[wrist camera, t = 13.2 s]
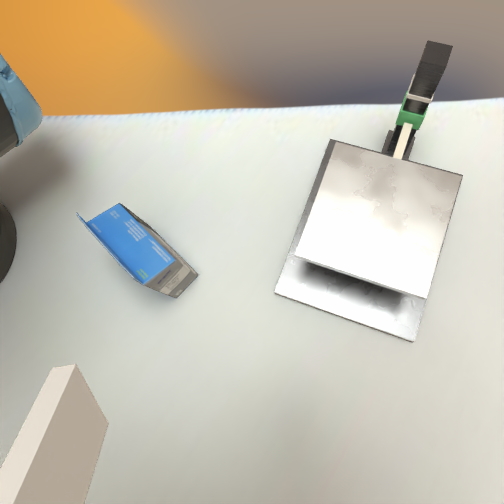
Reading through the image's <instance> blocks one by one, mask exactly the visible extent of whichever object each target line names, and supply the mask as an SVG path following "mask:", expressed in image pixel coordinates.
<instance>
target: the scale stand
mask: <svg viewBox="0 0 504 504" xmlns="http://www.w3.org/2000/svg"><path fill="white" fill-rule="evenodd" d="M452 47H453V46H450V45H446V44H441V43H437V42H432V41H427V44H426V46H425V49H424V52H423V55H422V57H421V60H420V62H419V65H418V68H417V70H416V73H415V74H414V75H413V78H412V81H411V84H410V87H409V90H408V91H407V92H406V95H405V98H404V101H403V103H402V106H401V109H400V112H399V115H398V118H397V121H396V126H395V129H394V131H391V130H389V132H388V135H387V138H386V141H385V144H384V147H383V150H382V153H380V152H376V151H373V150H369V149H366V148H362V147H358V146H355V145H351V144H347V143H344V142H340V141H336V140H333V139H330V141H329V144H328V147H327V149H326V152H325V155H324V158H323V160H322V163H321V166H320V168H319V171H318V174H317V177H316V179H315V182H314V185H313V188H312V190H311V193H310V196H309V198H308V201H307V204H306V207H305V209H304V212H303V215H302V218H301V220H300V223H299V226H298V229H297V231H296V234H295V237H294V239H293V242H292V245H291V248H290V250H289V253H288V256H287V259H286V261H285V264H284V267H283V269H282V272H281V275H280V278H279V280H278V283H277V286H276V289H275V291H274V293H275V294H278V295H281V296H283V297H286V298H289V299H292V300H295V301H297V302H300V303H303V304H306V305H309V306H311V307H314V308H317V309H320V310H323V311H326V312H328V313H331V314H334V315H337V316H340V317H342V318H345V319H348V320H351V321H354V322H356V323H359V324H362V325H365V326H368V327H371V328H373V329H376V330H379V331H382V332H385V333H387V334H390V335H393V336H396V337H399V338H402V339H404V340H407V341H410V342H414V341H415V338H416V334H417V331H418V328H419V324H420V321H421V317H422V314H423V310H424V307H425V304H426V300H427V298H426V299H424V300H421V299H418V298H415V297H412V296H409V295H406V294H403V293H400V292H397V291H394V290H391V289H388V288H385V287H382V286H379V285H376V284H373V283H370V282H367V281H364V280H361V279H358V278H355V277H352V276H349V275H346V274H343V273H340V272H337V271H334V270H331V269H328V268H325V267H322V266H319V265H316V264H313V263H310V262H307V261H304V260H301V259H298V258H296V257H295V254H296V251H297V248H298V245H299V243H300V240H301V237H302V234H303V232H304V229H305V226H306V223H307V221H308V218H309V215H310V212H311V210H312V207H313V204H314V201H315V199H316V196H317V193H318V190H319V188H320V185H321V182H322V179H323V177H324V174H325V171H326V168H327V166H328V163H329V160H330V157H331V155H332V152H333V149H334V146H335V143H336V142H339V143H343V144H346V145H350V146H354V147H357V148H361V149H365V150H368V151H372V152H376V153H379V154H383V155H386V156H390V157H393V155H394V152H395V149H396V146H397V143H398V140H399V137H400V134H401V131H402V128H403V125H404V123H409V124H413V125H412V128H411V132H410V135H409V138H408V141H407V144H406V147H405V150H404V153H403V156H402V159H401V160H405V161H408V162H412V163H416V164H419V165H423V166H427V167H430V168H434V169H438V170H441V171H445V172H448V173H452V174H456V175H459V176H462V177H463V175H461V174H457V173H453V172H450V171H446V170H442V169H439V168H435V167H431V166H428V165H424V164H420V163H417V162H413V161H409V160H408V159H409V155H410V152H411V149H412V146H413V143H414V140H415V137H414V134H415V132H416V130H419V128H420V126H421V124H422V121H423V119H424V117H425V114H426V111H427V108H428V105H429V103H431V101H432V98H433V95H434V92H435V90H436V87H437V85H438V83H439V81H440V79H441V77H442V74H443V73H444V70H445V68H446V66H447V63H448V60H449V56H450V53H451V50H452ZM461 180H462V178H461ZM460 184H461V181H460ZM459 187H460V185H459ZM458 190H459V188H458ZM457 194H458V192H457ZM456 197H457V195H456ZM455 201H456V199H455ZM454 204H455V202H454ZM453 208H454V205H453ZM452 211H453V209H452ZM451 214H452V212H451ZM450 218H451V216H450ZM449 221H450V219H449ZM448 225H449V223H448ZM447 228H448V226H447ZM446 232H447V229H446ZM445 235H446V233H445ZM444 238H445V236H444ZM443 242H444V240H443ZM442 245H443V243H442ZM441 249H442V246H441ZM440 252H441V250H440ZM439 256H440V253H439ZM438 259H439V257H438ZM437 262H438V260H437ZM436 266H437V264H436ZM435 269H436V267H435ZM434 273H435V270H434ZM433 276H434V274H433ZM432 280H433V277H432ZM431 283H432V281H431ZM430 286H431V284H430ZM429 290H430V288H429ZM428 293H429V291H428ZM427 297H428V294H427Z"/></svg>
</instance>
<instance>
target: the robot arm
mask: <svg viewBox="0 0 504 504" xmlns="http://www.w3.org/2000/svg"><path fill="white" fill-rule="evenodd" d="M41 121H42V111H41V108H40V106H39V105H38V103H37V102H36V100H35V99H34V97H33V96H32V95H31V93H30V92H29V91H28V89H27V88H26V87H25V85H24V84H23V83H22V81H21V80H20V79H19V77H18V76H17V75H16V74H15V72H14V71H13V70H12V69H11V68H10V66H9V64H8V63H7V62H6V61H5V59H4V58H3V56H2V55H1V54H0V157H1V156H3V155H4V154H5V153H7V152H8V151H10V150H11V149H12V148H14V147H17V146H19V145H21V144H22V142H23V139H24V138H26V137H27V136H28V135H29V134H30V133H31V132H33V131H34V130H35V129H36V128H37V127H38V126H39V125H40V123H41ZM15 247H16V231H15V226H14V222H13V220H12V217H11V215H10V213H9V212H8V210H7V209H6V208H5V206H4V205H3V204H2V203H0V282H1V281H2V279H3V278H4V276H5V275H6V273H7V271H8V269H9V267H10V265H11V263H12V260H13V257H14V253H15ZM108 424H109V423H108V422H107V420H106V418H105V416H104V414H103V412H102V411H101V409H100V407H99V405H98V403H97V401H96V400H95V398H94V396H93V394H92V392H91V390H90V389H89V387H88V385H87V383H86V381H85V379H84V378H83V376H82V374H81V372H80V370H79V368H78V367H77V365H76V364H72V365H66V366H60V367H55V368H52V369H51V371H50V373H49V375H48V377H47V379H46V381H45V383H44V385H43V387H42V388H41V390H40V392H39V394H38V396H37V398H36V400H35V402H34V404H33V406H32V408H31V410H30V412H29V414H28V416H27V418H26V420H25V422H24V424H23V426H22V428H21V430H20V432H19V434H18V436H17V437H16V439H15V441H14V443H13V445H12V447H11V449H10V451H9V453H8V455H7V457H6V459H5V461H4V463H3V465H2V467H1V469H0V504H84V502H85V499H86V496H87V493H88V489H89V486H90V483H91V480H92V476H93V473H94V470H95V466H96V463H97V460H98V457H99V453H100V450H101V447H102V444H103V440H104V437H105V434H106V431H107V427H108Z"/></svg>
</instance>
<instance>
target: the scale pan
mask: <svg viewBox="0 0 504 504" xmlns="http://www.w3.org/2000/svg"><path fill="white" fill-rule="evenodd" d="M412 125H413V124H409V123H404V125H403V128H402V131H401V134H400V137H399V140H398V143H397V146H396V149H395V152H394V155H393V157H390V156H386V155H383V154H379V153H376V152H372V151H368V150H365V149H361V148H357V147H354V146H350V145H346V144H343V143H339V142H336V143H335V146H334V149H333V152H332V155H331V157H330V160H329V163H328V166H327V168H326V171H325V174H324V177H323V179H322V182H321V185H320V188H319V190H318V193H317V196H316V199H315V201H314V204H313V207H312V210H311V212H310V215H309V218H308V221H307V223H306V226H305V229H304V232H303V234H302V237H301V240H300V243H299V245H298V248H297V251H296V254H295V257H296V258H298V259H301V260H304V261H307V262H310V263H313V264H316V265H319V266H322V267H325V268H328V269H331V270H334V271H337V272H340V273H343V274H346V275H349V276H352V277H355V278H358V279H361V280H364V281H367V282H370V283H373V284H376V285H379V286H382V287H385V288H388V289H391V290H394V291H397V292H400V293H403V294H406V295H409V296H412V297H415V298H418V299H421V300H424V299H426V298H427V294H428V291H429V288H430V284H431V281H432V277H433V274H434V270H435V267H436V264H437V260H438V257H439V253H440V250H441V246H442V243H443V240H444V236H445V233H446V229H447V226H448V223H449V219H450V216H451V212H452V209H453V205H454V202H455V199H456V195H457V192H458V188H459V185H460V181H461V178H462V176H459V175H456V174H452V173H448V172H445V171H441V170H438V169H434V168H430V167H427V166H423V165H419V164H416V163H412V162H408V161H405V160H401V159H402V156H403V153H404V150H405V147H406V144H407V141H408V138H409V135H410V132H411V128H412Z"/></svg>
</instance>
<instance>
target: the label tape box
mask: <svg viewBox="0 0 504 504" xmlns="http://www.w3.org/2000/svg"><path fill="white" fill-rule="evenodd" d="M76 214H77V216H78V218H79V219H80V221H81V222H82V223H83V224H84V225H85V227H86V228H87V229H88V230H89V231H90V232H91V233H92V234H93V236H94V237H95V238H96V239H97V240H98V241H99V242H100V243H101V244H102V246H103V247H104V248H105V249H106V250H107V251H108V252H109V253H110V254H111V256H112V257H113V258H114V259H115V260H116V261H117V262H118V263H119V264H120V265H121V266H122V267H123V268H124V270H125V271H126V272H127V273H128V274H129V275H130V276H131V277H132V278H133V279H134V280H136V281H137V282H139V283H140V284H142V285H144V286H147V287H149V288H152V289H154V290H156V291H159V292H161V293H164V294H166V295H169V296H172V297H174V298H177V297H178V296H179V295H180V294H181V293H182V292H183V291H184V290H185V289H186V288H187V286H188V285H189V284H190V283H191V282H192V281H193V280H194V279H195V278H196V277H197V276H198V274H197V273H196V272H195V270H194V269H193V268H192V267H191V266H190V265H189V264H188V263H187V262H186V261H185V260H184V259H183V258H182V257H181V256H180V255H179V254H178V253H177V252H176V251H175V250H173V249H172V248H171V247H170V246H169V245H168V244H167V243H166V242H165V241H164V240H163V239H162V238H161V237H160V236H159V235H158V234H157V233H156V232H155V231H154V230H153V229H152V228H151V227H150V226H149V225H148V224H147V223H145V222H144V221H143V220H141V219H140V218H139V217H138V216H136V215H135V214H134V213H132V212H131V211H130V210H129V209H127V208H126V207H125V206H123V205H122V204H120V203H118V204H117V205H115V206H113V207H112V208H110V209H108V210H107V211H105V212H103V213H101V214H100V215H98V216H97V217H95V218H93V219H92V220H90V221H88V222H87V223H86V222H85V221H84V220H83V219H82V218H81V217H80V216H79V215H78V213H77V212H76Z"/></svg>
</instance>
